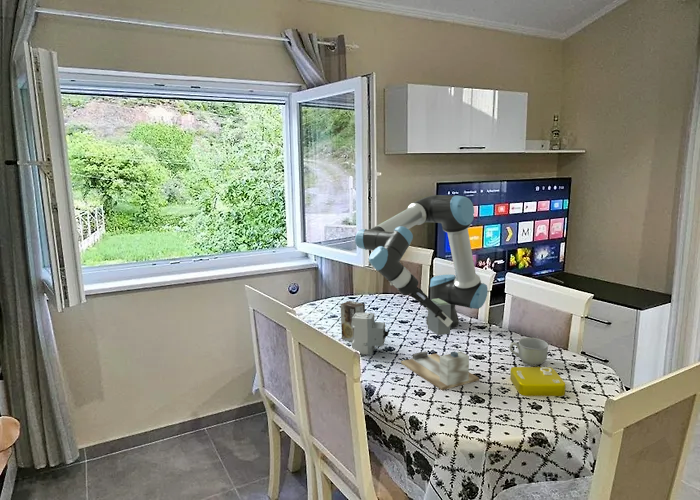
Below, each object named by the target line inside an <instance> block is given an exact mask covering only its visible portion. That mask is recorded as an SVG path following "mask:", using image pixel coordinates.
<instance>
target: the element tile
mask: <svg viewBox="0 0 700 500" xmlns="http://www.w3.org/2000/svg"><path fill="white" fill-rule="evenodd" d="M509 372H510V373H509V375H510V377H509V379H510V381H511V384H513V386H514V388H515V389H516V391H517V393H518V394H519V395H520V394H521V395H520V396H522V397H523V396H525V397H563V396H566V385H567V384H566V382H565V381H564V380H563V378H562V377H561V376H560V375H559V374H558V372H557V371H556V370H555V369H554V367H551V366H513V367H512V366H511V368H510V370H509Z"/></svg>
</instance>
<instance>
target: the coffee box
mask: <svg viewBox="0 0 700 500" xmlns="http://www.w3.org/2000/svg"><path fill="white" fill-rule="evenodd" d="M355 313H366V304H365V303H362V302H357V301H352V300H349V301H345V302H343V303H340V324H341V327H340V328H341V339H342V340H343V341H344V340H345V341H348V342H351V343H352V342H353V340H354V328H352V326H351V323H352V317H353V316H354V314H355Z"/></svg>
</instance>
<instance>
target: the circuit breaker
mask: <svg viewBox="0 0 700 500" xmlns="http://www.w3.org/2000/svg"><path fill="white" fill-rule="evenodd" d="M351 326H352V328H354V340H353V342H351V349H352V348H353V349H355V350H357V351H359V352H360V353H362V354H361V355H367V354H371V355H373V353H374V352H375V349H376V347H383V346H384V344H385V341H386V337H388V336H389V334H390V333H389V331H388V330H386V322H384V321H382V322H380V321H379V322H377V321H375V313H373V312H372V313H371V312H365V313H355V314H354V316H353V317H352V323H351Z"/></svg>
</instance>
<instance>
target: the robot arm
mask: <svg viewBox="0 0 700 500" xmlns="http://www.w3.org/2000/svg"><path fill="white" fill-rule="evenodd" d="M474 214H475V208H474V204H473V202H472V201H471V199H470V198H469V197H467V196H461V195H442V194H440V195H438V194H433V195H429V196H425V197H423V198H420V199H418V200H416V201H413V202H412V203H410V204H409V205H408V206H407V208H406V209H405V210H402V211H401V212H399V213H397V214H396V215H393V216H391V217H390V218H388V219H387V220H385V221H383V222H381V223H379V224H377V225H375V226H374V227H372V228H370V229H367V228H364V229H359V230H358V231H357V232H356V234H355V237H354V239H355V245H356V247H357V248H358V249H362V250H365V251H367V250H368V251H372V252H371V253H370V254H369V256H368V262H369V263H370V265H371V267H373V268H374V269H375V271H377V272H378V273H380V274H381V275H382V276H383V277H384V278H385V280H387V281H388V282H389V285H390V286H393V287H394V288H396V289H397V291H399V292H400V294H402V296H406V297H407V296H410V297H412V298H413V299H415V301H417V302H418V303H419V304H420V305H421V306H422V307H423V308H425V310H427V311H428V308H429V309H430V310H431V311H432V312H433V313H434V314H435V316H434V317H438V318H439V319H440V320H441V321H442V322H443V323H444V324H445V325H446V326H447V327H449V325H450V329H453V328H456V327H458V326H459V324H460V323H459V322H460V320H459V317H458V312H457V310H456V309H457V308H456V306H459V307H463V308H464V307H465V308H468V309H476V310H478V309H481V308H482V307H483V306H484V304H485V302H486V301H487V296H488V291H489V289H488V285H487V284H485V283H484V282H482V280H481V277H480V276H479V275H478V274H476V267H475V263H474V262H475V261H474V256H473V250H472V245H471V241H470V235H469V228H470V227H471V224H472V223H473V221H474V218H475V216H474ZM424 223H436V224H437V223H438V224H441V227H442V231H443V232H445V233H447V237H448V242H449V248H450V252H451V259H452V264H453V267H454V273H455V275H454V274H439V275H435V276H433V277H432V278H430V285H429V297H428V295H427V294H425V292H423V289H421V288H419V280H418V278H416V277H415V276H414V275H413V274H412V273H411V271H409V269H408V268H406V267H405V266H404V265H403V264H402V262H400V261H401V259H402V258H403V256H404V255H405V253H407V250H408V249H409V247H410V244H412V241H413V239H414V234H413V233H412V231H411V230H410V229H411V228H413V227H415V226H416V225H417V226H421V225H424ZM437 298H439V299H441V300H443V301H445V302H447V303H449V304H451V319H450V318H449V317H448V316H447V315H446V314H445V313H444V312H443V311H442V310H441V309H440V308H439V307H438V306H437V305H436V304H434V303H433V302H432V301H431V299H437ZM425 322H426V325H427V326H428V315H427V316H426V321H425Z"/></svg>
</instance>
